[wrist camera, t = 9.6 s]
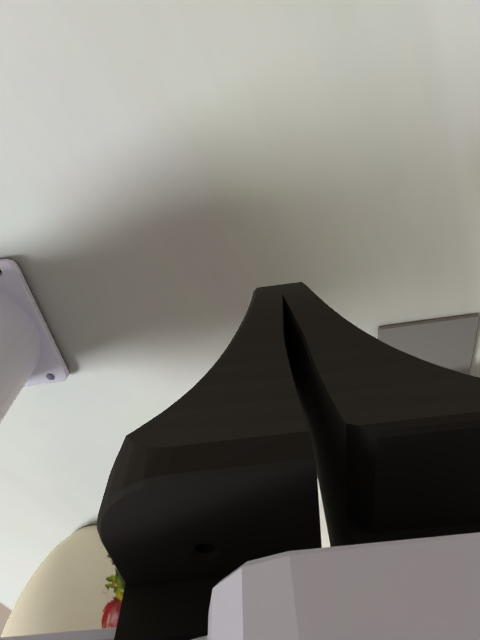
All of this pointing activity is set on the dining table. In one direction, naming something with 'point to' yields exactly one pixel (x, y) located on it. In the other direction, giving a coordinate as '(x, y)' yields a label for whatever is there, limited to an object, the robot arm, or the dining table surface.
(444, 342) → the mat
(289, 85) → the dining table surface
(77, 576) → the pitcher
